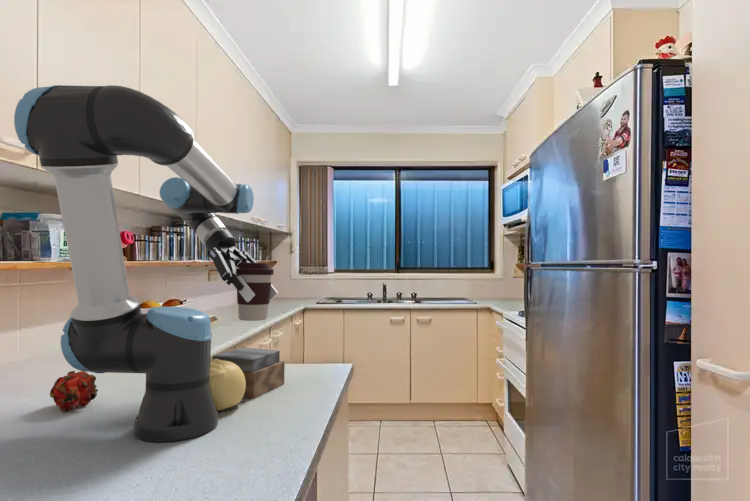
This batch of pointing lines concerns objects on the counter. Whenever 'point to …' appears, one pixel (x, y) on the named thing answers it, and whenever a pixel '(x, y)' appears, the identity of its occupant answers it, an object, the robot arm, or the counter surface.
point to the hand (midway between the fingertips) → (263, 297)
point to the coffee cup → (255, 291)
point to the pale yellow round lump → (226, 383)
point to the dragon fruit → (74, 390)
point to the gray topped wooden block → (257, 369)
